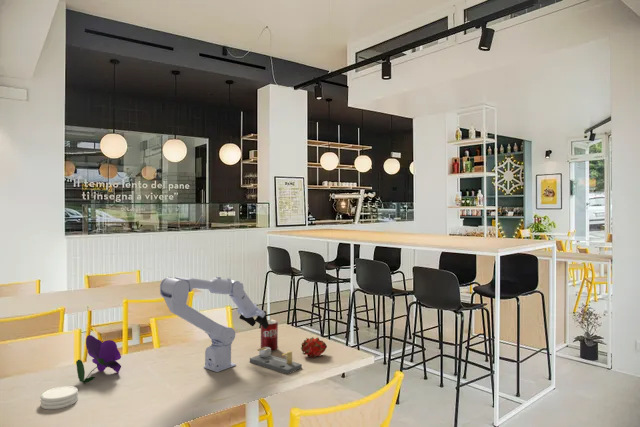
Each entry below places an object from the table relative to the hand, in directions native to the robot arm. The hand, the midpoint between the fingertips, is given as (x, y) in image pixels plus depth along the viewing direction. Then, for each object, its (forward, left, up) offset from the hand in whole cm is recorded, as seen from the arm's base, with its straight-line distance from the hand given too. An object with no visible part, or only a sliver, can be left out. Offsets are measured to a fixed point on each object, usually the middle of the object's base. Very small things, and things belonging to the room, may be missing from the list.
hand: (260, 325), depth 183 cm
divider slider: (-5, -7, -10) cm, 13 cm away
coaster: (-71, +15, -12) cm, 74 cm away
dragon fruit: (+13, -19, -12) cm, 26 cm away
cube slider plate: (-5, -14, -12) cm, 19 cm away
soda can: (+7, +1, -12) cm, 14 cm away
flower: (-55, +26, -12) cm, 62 cm away
